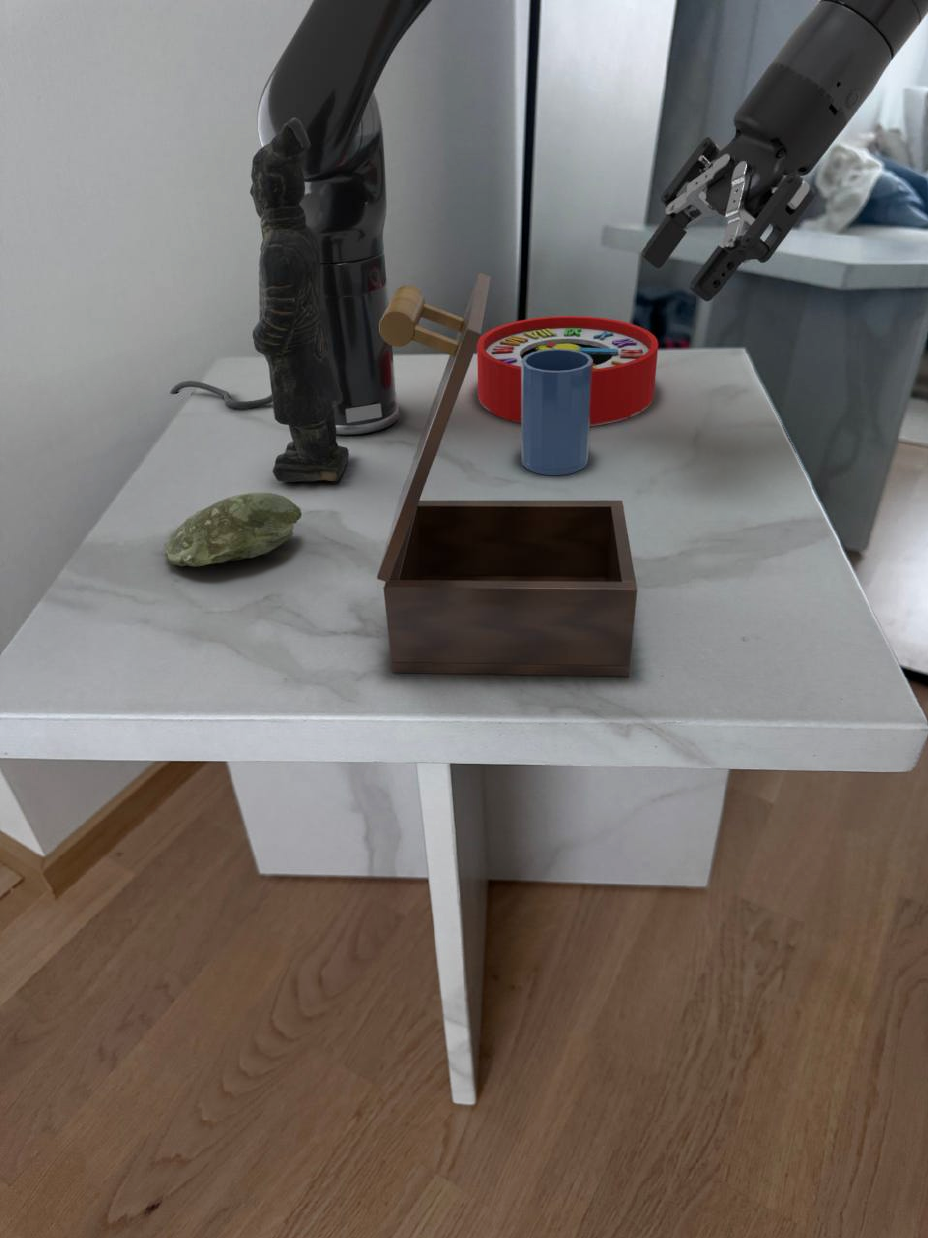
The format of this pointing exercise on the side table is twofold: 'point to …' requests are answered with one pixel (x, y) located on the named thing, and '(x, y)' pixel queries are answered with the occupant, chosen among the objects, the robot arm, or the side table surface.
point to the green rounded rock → (233, 530)
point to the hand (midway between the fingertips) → (672, 278)
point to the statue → (294, 314)
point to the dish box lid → (399, 331)
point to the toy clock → (611, 344)
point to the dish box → (513, 589)
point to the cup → (555, 410)
